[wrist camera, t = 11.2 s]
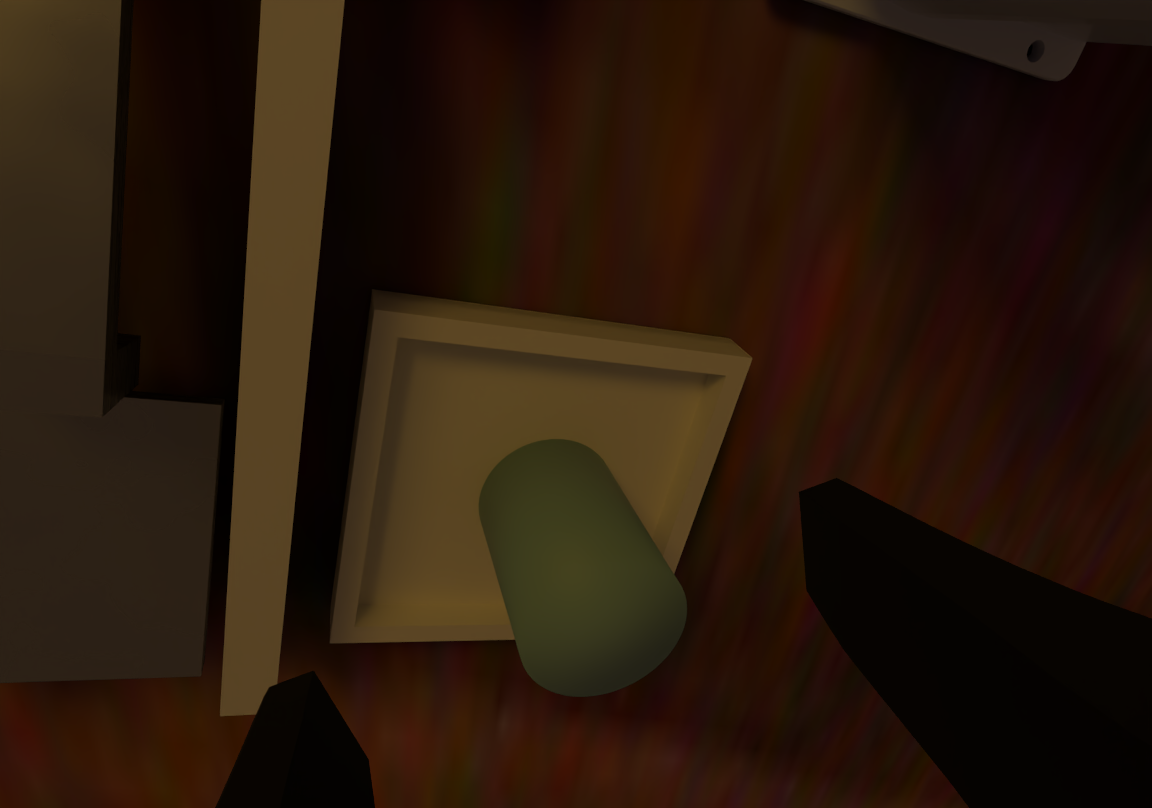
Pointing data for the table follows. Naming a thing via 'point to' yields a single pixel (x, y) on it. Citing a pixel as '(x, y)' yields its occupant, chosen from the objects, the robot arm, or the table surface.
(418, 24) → the table surface
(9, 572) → the lever
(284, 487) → the beige h-shaped piece
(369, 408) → the tray
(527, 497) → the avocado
